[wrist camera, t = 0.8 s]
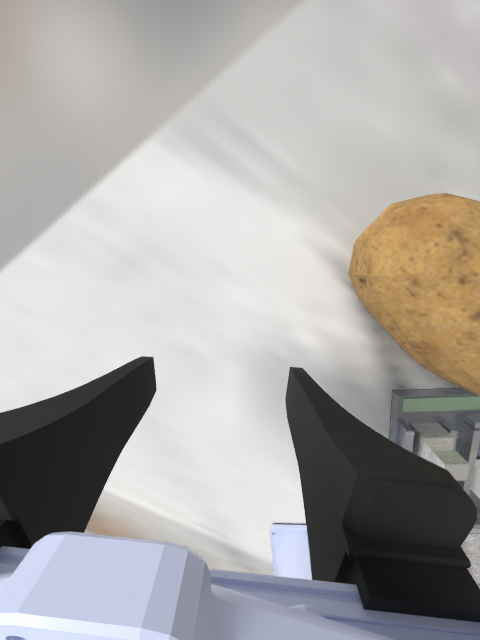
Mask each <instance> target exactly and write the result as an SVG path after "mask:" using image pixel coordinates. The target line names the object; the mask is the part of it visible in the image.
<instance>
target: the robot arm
mask: <svg viewBox="0 0 480 640" xmlns="http://www.w3.org/2000/svg"><path fill="white" fill-rule="evenodd" d="M155 392H156V379H155V369H154V360H153V357H143V356H142V357H139V358H137V359H135V360H133V361H131V362H129V363H127V364H125V365H123V366H121V367H119V368H117V369H115V370H113V371H112V372H110V373H108V374H106V375H104V376H101V377H99V378H97V379H95V380H93V381H91V382H89V383H87V384H85V385H82V386H80V387H78V388H75V389H73V390H70V391H68V392H65V393H63V394H60V395H57V396H55V397H52V398H49V399H46V400H43V401H40V402H37V403H34V404H31V405H27V406H24V407H21V408H17V409H14V410H10V411H6V412H2V413H0V640H480V583H479V584H478V585H477V584H476V582H475V581H474V579H473V578H472V576H471V574H470V573H469V571H468V570H467V568H469V567H470V566H471V564H470V561H469V559H468V558H467V556H466V554H465V553H464V551H463V550H462V548H461V547H460V546H461V545H462V543H463V542H464V540H465V539H466V537H467V536H468V534H469V533H470V531H471V530H472V528H473V527H474V524H475V522H476V520H477V508H476V506H475V504H474V502H473V500H472V499H471V498H470V497H469V495H468V494H467V493H466V492H465V491H464V489H463V488H462V487H461V486H460V484H459V483H458V482H457V481H456V480H455V478H454V477H453V476H452V475H451V474H450V472H449V471H448V470H446V469H444V468H442V467H440V466H438V465H436V464H434V463H432V462H430V461H428V460H426V459H424V458H422V457H420V456H418V455H416V454H414V453H412V452H410V451H408V450H406V449H404V448H403V447H401V446H399V445H397V444H395V443H394V442H392V441H390V440H389V439H387V438H385V437H384V436H382V435H380V434H379V433H377V432H376V431H374V430H373V429H371V428H370V427H368V426H367V425H365V424H364V423H362V422H361V421H359V420H358V419H357V418H355V417H354V416H353V415H351V414H350V413H349V412H347V411H346V410H345V409H344V408H343V407H341V406H340V405H339V404H338V403H337V402H336V401H334V400H333V399H332V398H331V397H330V396H329V395H328V394H327V393H326V392H325V391H324V390H323V389H322V388H321V387H320V386H319V385H318V384H317V383H316V382H315V381H314V380H313V379H312V378H311V377H310V376H309V375H308V374H307V373H306V371H305V370H304V369H303V368H295V367H290V372H289V379H288V386H287V392H286V399H285V400H286V410H287V418H288V423H289V427H290V431H291V435H292V440H293V444H294V448H295V452H296V457H297V461H298V466H299V472H300V479H301V486H302V493H303V501H304V509H305V517H306V525H285V524H272V525H271V526H270V535H271V546H272V557H273V567H274V576H271V575H262V574H253V573H244V572H235V571H226V570H216V569H208V567H207V565H206V563H205V561H204V559H203V557H202V556H200V555H199V554H197V553H196V552H194V551H193V550H191V549H190V548H188V547H186V546H182V545H178V544H174V543H170V542H166V541H156V540H147V539H137V538H128V537H118V536H109V535H99V534H90V533H84V531H85V529H86V526H87V524H88V522H89V520H90V517H91V515H92V513H93V510H94V508H95V506H96V503H97V501H98V499H99V497H100V495H101V492H102V490H103V488H104V486H105V484H106V482H107V480H108V477H109V475H110V473H111V471H112V469H113V467H114V465H115V463H116V461H117V459H118V457H119V455H120V453H121V451H122V450H123V448H124V446H125V445H126V443H127V441H128V440H129V438H130V436H131V435H132V433H133V432H134V430H135V428H136V427H137V425H138V424H139V422H140V420H141V419H142V417H143V415H144V414H145V412H146V411H147V409H148V407H149V405H150V403H151V401H152V399H153V396H154V394H155Z"/></svg>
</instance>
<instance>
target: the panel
mask: <svg viewBox="0 0 480 640" xmlns="http://www.w3.org/2000/svg"><path fill="white" fill-rule="evenodd" d="M389 440H390V441H392V442H394V443H395V444H397V445H399V446H401V447H403V448H404V449H406V450H408V451H410V452H412V453H414V454H416V455H418V456H420V457H422V458H424V459H426V460H428V461H430V462H432V463H434V464H436V465H438V466H440V467H442V468H444V469H446V470H448V471H449V472H450V474H451V475H452V476H453V477H454V478H455V480H456V481H457V482H458V483H459V484H460V486H461V487H462V488H463V489H464V491H465V492H466V493H467V494H468V495H469V497H470V498H471V499H472V500H473V502H474V504H475V506H476V508H477V520H476V522H475V524H474V527H473V528H472V530H471V531H470V533H469V534H480V499H479V498H478V497H477V496H476V494H475V493H474V492H473V491H472V490H471V489H470V488H471V483H472V478H473V473H474V468H475V462H476V459H480V396H478V395H476V394H474V393H472V392H470V391H468V390H466V389H463V388H444V389H418V390H393V391H392V404H391V418H390V431H389Z"/></svg>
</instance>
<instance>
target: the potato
mask: <svg viewBox="0 0 480 640" xmlns="http://www.w3.org/2000/svg"><path fill="white" fill-rule="evenodd" d="M348 274H349V277H350V279H351V282H352V284H353V286H354V289H355V291H356V294H357V296H358V297H359V299H360V300H361V301H362V302H363V304H364V305H365V306H366V308H367V309H368V310H369V311H370V313H371V314H372V315H373V316H374V317H375V318H376V320H377V321H378V322H379V323H380V324H381V325H382V326H383V328H384V329H385V330H386V331H387V332H388V333H389V334H390V335H391V336H392V338H393V339H394V340H395V341H396V342H397V343H398V344H399V345H400V346H401V347H402V348H403V349H404V350H405V351H406V352H407V353H408V354H409V355H410V356H411V357H412V358H413V359H414V360H416V361H417V362H418V363H419V364H421V365H422V366H424V367H425V368H427V369H428V370H430V371H432V372H433V373H435V374H436V375H438V376H439V377H441V378H443V379H445V380H447V381H449V382H451V383H453V384H455V385H457V386H459V387H461V388H463V389H466V390H468V391H470V392H472V393H474V394H476V395H478V396H480V202H479V201H476V200H472V199H468V198H464V197H459V196H455V195H451V194H447V193H442V194H433V195H426V196H422V197H418V198H414V199H410V200H406V201H402V202H398V203H393V204H391V205H390V206H389V207H388V208H387V209H386V210H385V211H384V212H383V213H382V214H381V215H380V216H379V217H378V218H377V219H376V220H375V221H374V222H373V223H372V224H371V225H370V226H369V227H368V228H367V229H366V230H365V231H364V232H363V233H362V234H361V235H360V236H359V237H358V238H357V240H356V242H355V243H354V247H353V252H352V258H351V263H350V268H349V273H348Z"/></svg>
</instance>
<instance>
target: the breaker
mask: <svg viewBox="0 0 480 640" xmlns="http://www.w3.org/2000/svg"><path fill="white" fill-rule="evenodd" d="M470 489H471V490H472V491H473V492H474V493H475V494H476V496H477V497H478V498H479V499H480V459H476V462H475V468H474V473H473V478H472V483H471V488H470Z"/></svg>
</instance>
